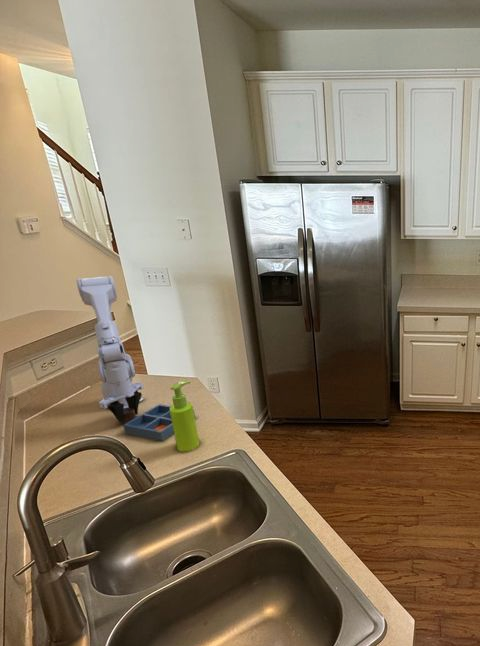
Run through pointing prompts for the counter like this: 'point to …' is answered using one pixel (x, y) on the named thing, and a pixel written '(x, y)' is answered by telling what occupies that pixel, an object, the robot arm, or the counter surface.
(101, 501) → the counter surface
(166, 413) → the grid
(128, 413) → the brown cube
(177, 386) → the soap dispenser
